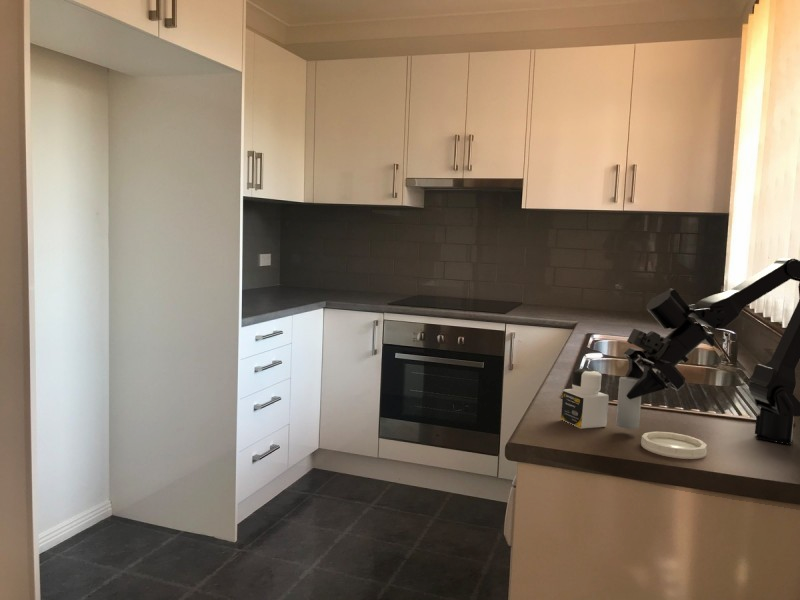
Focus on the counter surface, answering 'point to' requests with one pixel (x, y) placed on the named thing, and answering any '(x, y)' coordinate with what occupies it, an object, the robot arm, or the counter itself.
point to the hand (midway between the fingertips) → (623, 394)
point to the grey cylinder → (627, 404)
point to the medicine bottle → (585, 401)
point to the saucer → (674, 445)
